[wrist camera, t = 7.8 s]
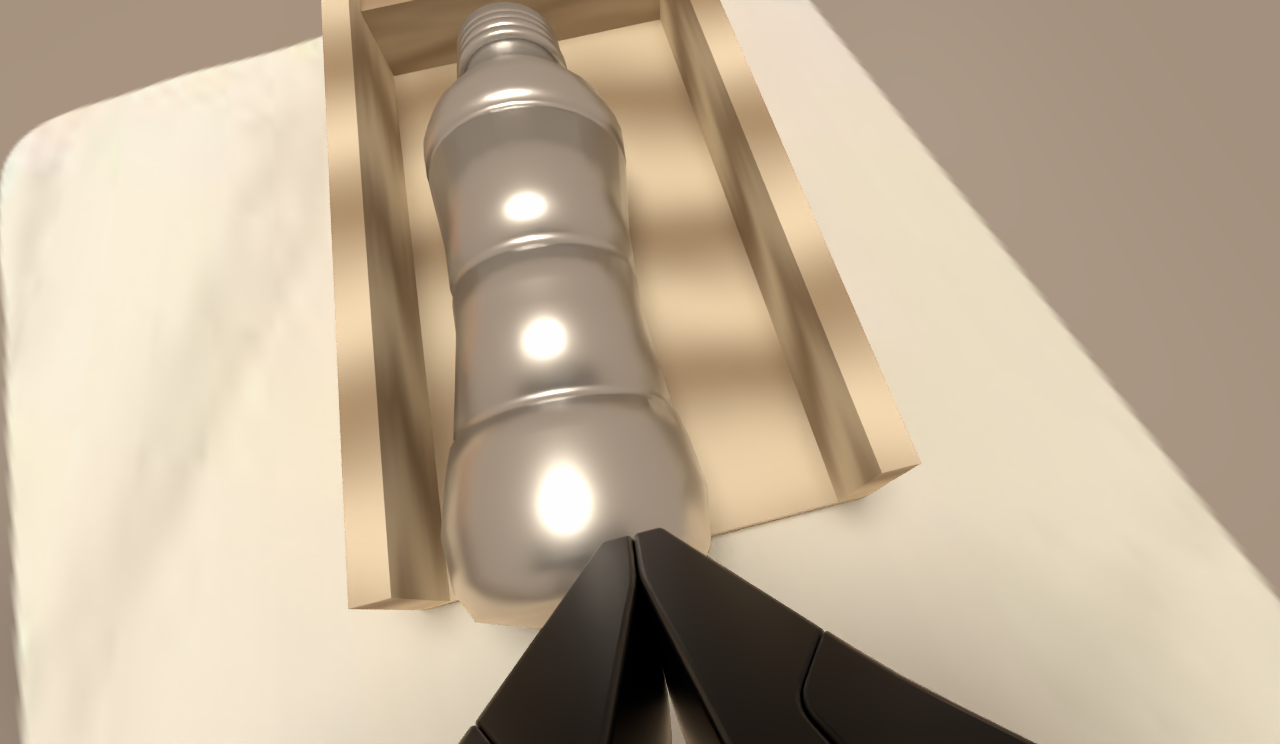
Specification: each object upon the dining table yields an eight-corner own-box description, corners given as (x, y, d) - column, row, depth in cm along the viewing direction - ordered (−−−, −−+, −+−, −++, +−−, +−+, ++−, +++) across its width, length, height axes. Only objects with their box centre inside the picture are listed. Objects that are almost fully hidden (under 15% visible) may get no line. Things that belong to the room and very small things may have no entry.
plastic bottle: (458, 656, 16) (422, 117, 24) (693, 606, 18) (587, 119, 26) (430, 655, 10) (395, -53, 18) (780, 582, 12) (609, -35, 20)
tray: (864, 496, 18) (921, 463, 14) (423, 610, 18) (348, 608, 14) (675, 10, 27) (677, -99, 23) (374, 74, 27) (319, -26, 22)
